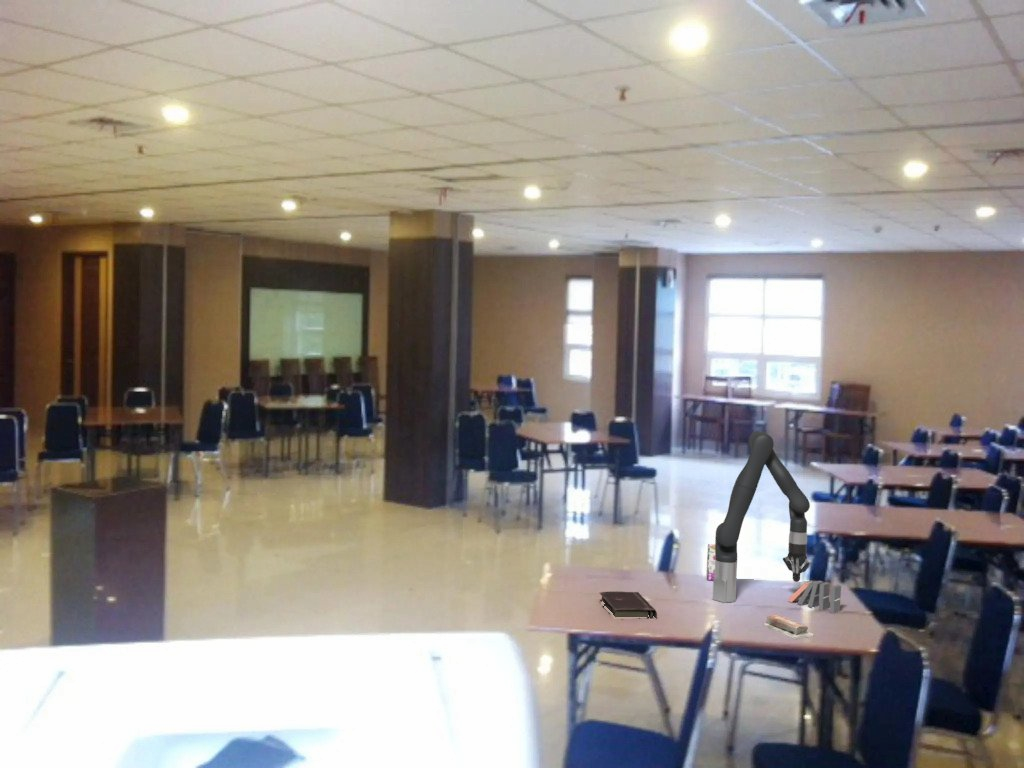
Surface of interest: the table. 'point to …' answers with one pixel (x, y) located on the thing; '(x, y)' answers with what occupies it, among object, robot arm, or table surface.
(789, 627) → the packaged product
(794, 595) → the domino
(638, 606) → the diary
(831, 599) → the domino
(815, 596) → the domino
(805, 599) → the domino
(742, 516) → the robot arm
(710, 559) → the candy bar box
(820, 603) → the domino
